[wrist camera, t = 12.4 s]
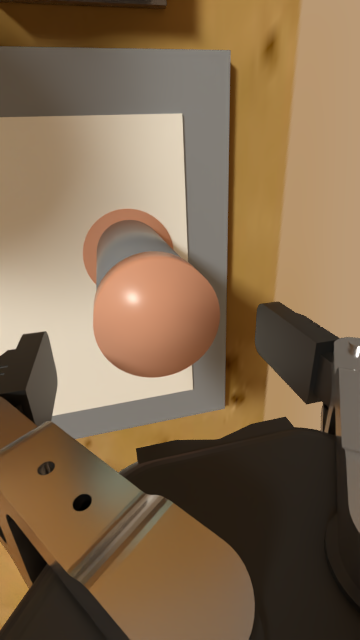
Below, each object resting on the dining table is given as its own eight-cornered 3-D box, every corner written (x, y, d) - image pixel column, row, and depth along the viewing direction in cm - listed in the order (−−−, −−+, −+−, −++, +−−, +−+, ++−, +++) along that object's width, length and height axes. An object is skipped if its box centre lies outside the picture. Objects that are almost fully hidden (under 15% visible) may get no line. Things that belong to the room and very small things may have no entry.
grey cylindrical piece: (142, 298, 23) (175, 393, 13) (82, 265, 21) (68, 348, 11) (177, 243, 22) (243, 301, 12) (117, 203, 20) (138, 233, 10)
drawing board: (221, 401, 30) (225, 410, 29) (-7, 446, 26) (-12, 459, 25) (224, 56, 19) (232, 48, 18) (-173, 50, 15) (-195, 40, 14)
